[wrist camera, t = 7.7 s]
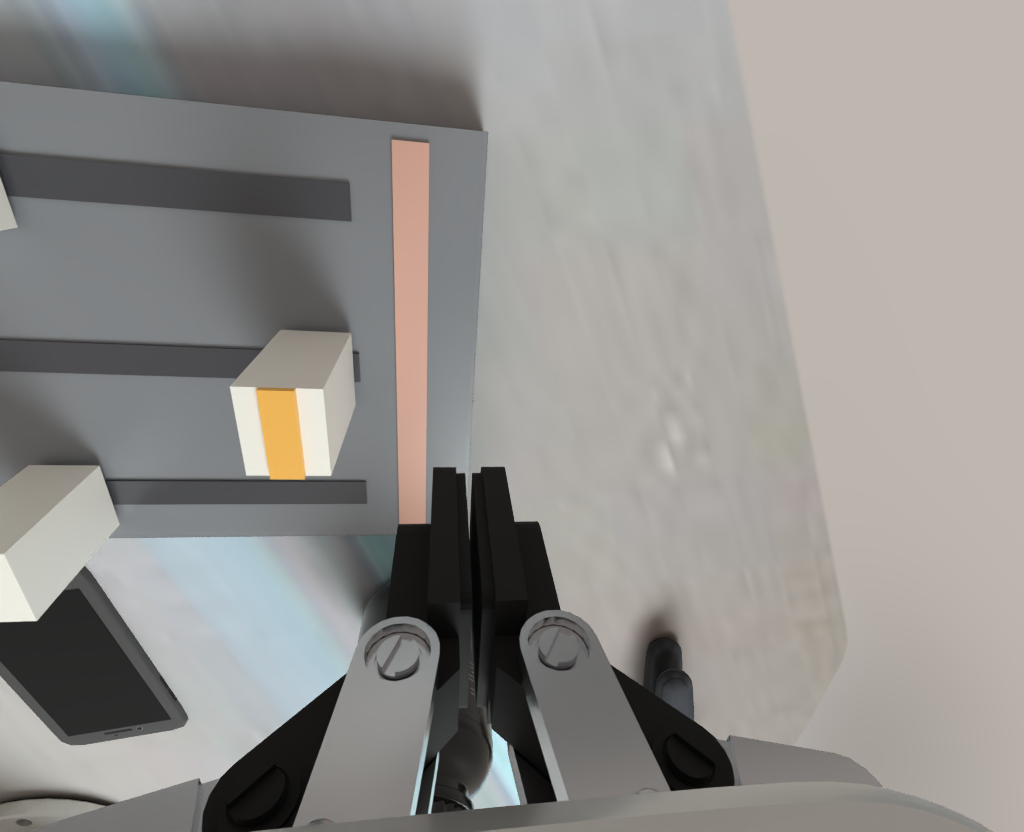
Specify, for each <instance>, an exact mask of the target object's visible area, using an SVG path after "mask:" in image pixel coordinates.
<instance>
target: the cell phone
mask: <svg viewBox="0 0 1024 832" xmlns="http://www.w3.org/2000/svg"><path fill="white" fill-rule="evenodd" d="M0 676H1V677H2V678H3V679H4V680H5V681H6V682H7V684H8V685H9V686H10V687H11V688H12V689H13V690H14V691H15V692H16V693H17V694H18V695H19V696H20V698H21V699H22V700H23V701H24V702H25V703H26V704H27V705H28V706H29V707H30V708H31V709H32V711H33V712H34V713H35V714H36V715H37V716H38V717H39V718H40V719H41V720H42V721H43V722H44V724H45V725H46V726H47V727H48V728H49V729H50V730H51V731H52V732H53V733H54V734H55V735H56V736H57V737H58V738H59V739H60V740H61V741H62V742H64V743H67V744H69V745H86V744H92V743H98V742H104V741H110V740H116V739H122V738H128V737H134V736H140V735H146V734H152V733H158V732H164V731H170V730H174V729H177V728H180V727H183V726H184V725H185V724H186V722H187V720H188V716H187V714H186V713H185V711H184V709H183V707H182V706H181V704H180V703H179V701H178V700H177V698H176V697H175V695H174V694H173V692H172V691H171V689H170V688H169V686H168V685H167V683H166V682H165V680H164V679H163V678H162V676H161V675H160V673H159V672H158V670H157V669H156V667H155V666H154V664H153V663H152V661H151V660H150V658H149V657H148V655H147V654H146V653H145V651H144V650H143V648H142V647H141V645H140V644H139V642H138V641H137V639H136V638H135V636H134V635H133V633H132V632H131V631H130V629H129V628H128V626H127V625H126V623H125V622H124V620H123V619H122V617H121V616H120V614H119V613H118V611H117V610H116V609H115V607H114V606H113V604H112V603H111V601H110V600H109V598H108V597H107V595H106V594H105V592H104V591H103V589H102V588H101V587H100V585H99V584H98V582H97V581H96V579H95V578H94V576H93V575H92V574H91V572H90V571H89V570H88V569H87V568H86V567H85V566H84V567H83V568H82V569H81V570H80V571H79V573H78V574H77V575H76V576H75V577H74V578H73V580H72V581H71V582H70V583H69V584H68V585H67V587H66V588H65V589H64V590H63V591H62V592H61V594H60V595H59V596H58V597H57V598H56V599H55V601H54V602H53V603H52V604H51V605H50V606H49V608H48V609H47V610H46V611H45V612H44V613H43V615H42V616H41V617H40V618H39V619H38V620H37V621H21V622H0Z"/></svg>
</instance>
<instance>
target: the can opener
mask: <svg viewBox="0 0 1024 832" xmlns="http://www.w3.org/2000/svg"><path fill="white" fill-rule="evenodd" d="M644 688H646V689H647V690H649V691H650V692H652V693H653V694H655V695H656V696H658V697H659V698H660V699H662V700H663V701H665V702H666V703H668V704H669V705H671V706H672V707H674V708H675V709H677V710H678V711H680V712H681V713H683V714H684V715H686V716H687V717H689V718H690V719H692V720H693V721H694V703H693V686H692V681H691V679H690V677H689V676H688V675H687V674H686V673H685V672H684V671H682V651H681V647H680V646H679V644H678V643H676V642H675V641H673V640H671V639H659V640H656V641H655V642H653V643H651V645H650V646H649V648H648V652H647V659H646V667H645V680H644Z"/></svg>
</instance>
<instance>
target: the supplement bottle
mask: <svg viewBox="0 0 1024 832" xmlns="http://www.w3.org/2000/svg"><path fill="white" fill-rule="evenodd" d="M390 582H391V581H390ZM390 582H388V583H386V584H385V585H383V586H382V587H381V588H380V589H378V590H377V591H376V592H375V593H374V594H373V596H372V597H371V598H370V600H369V601H368V603H367V605H366V608H365V611H364V614H363V619H362V624H361V629H360V634H359V639H358V643H359V641H360V639H361V638H362V636H363V635H364V634H365V633H366V632H367V631H368V630H369V629H370V628H371V627H373V626H374V625H376V624H378V623H379V622H381V621H383V620H386V613H387V606H388V598H389V590H390ZM492 761H493V742H492V728H491V724H487V717H486V706H483V707H476V702H475V684H474V665H473V646H472V627H471V647H470V667H469V688H468V707H467V708H459V711H458V731H457V732H456V733H455V735H454V736H453V737H452V738H451V739H450V740H449V741H448V742H447V743H446V745H445V746H444V747H443V748H442V749H441V750H440V751H439V763H438V770H437V776H436V783H435V789H434V796H433V802H432V809H431V814H432V813H442V812H453V811H463V810H473V809H474V805H473V803H472V801H471V799H472V798H473V797H474V796H475V795H476V794H477V793H478V792H479V791H480V789H481V788H482V786H483V785H484V783H485V781H486V779H487V777H488V775H489V772H490V769H491V766H492Z"/></svg>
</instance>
